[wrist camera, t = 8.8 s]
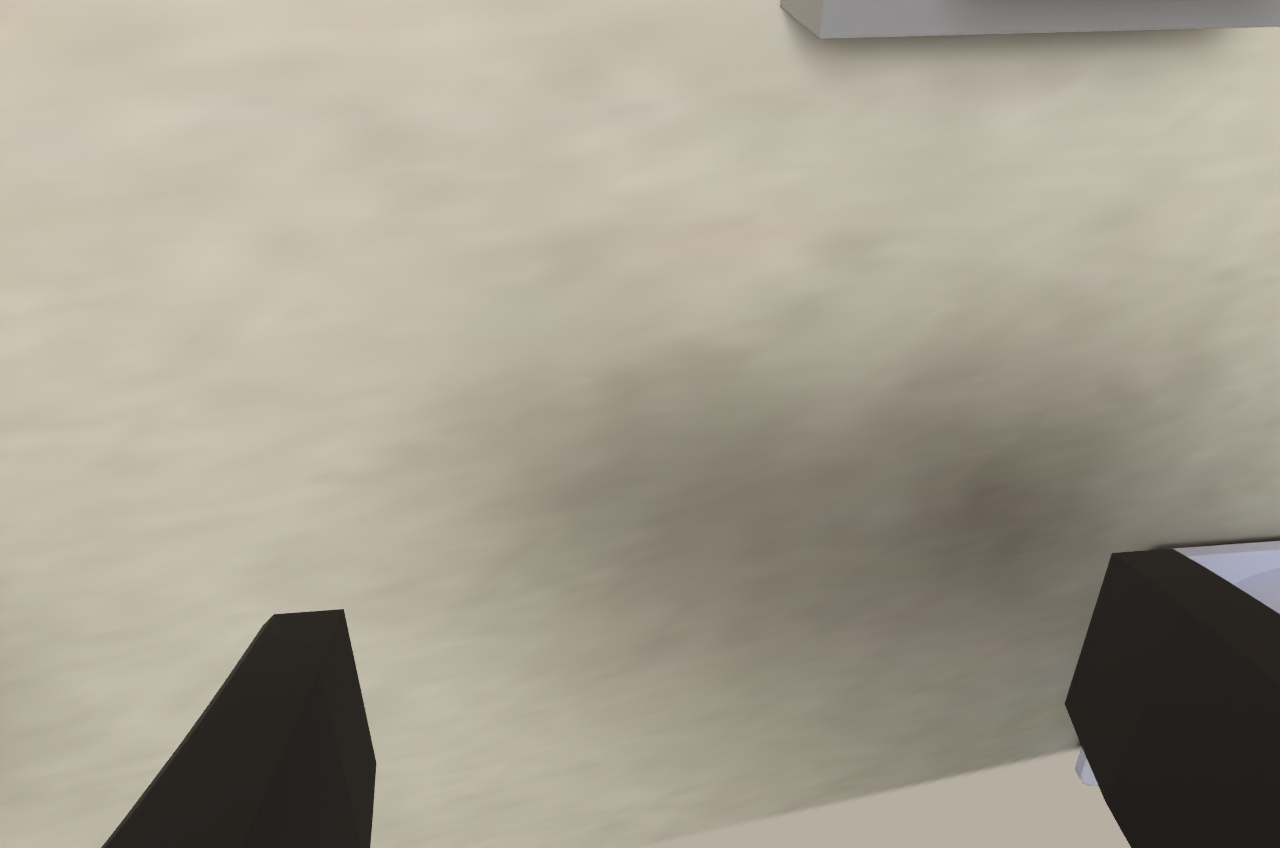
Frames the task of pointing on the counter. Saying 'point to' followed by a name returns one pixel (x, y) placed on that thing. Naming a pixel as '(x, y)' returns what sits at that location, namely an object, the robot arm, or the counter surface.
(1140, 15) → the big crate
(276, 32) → the counter surface
